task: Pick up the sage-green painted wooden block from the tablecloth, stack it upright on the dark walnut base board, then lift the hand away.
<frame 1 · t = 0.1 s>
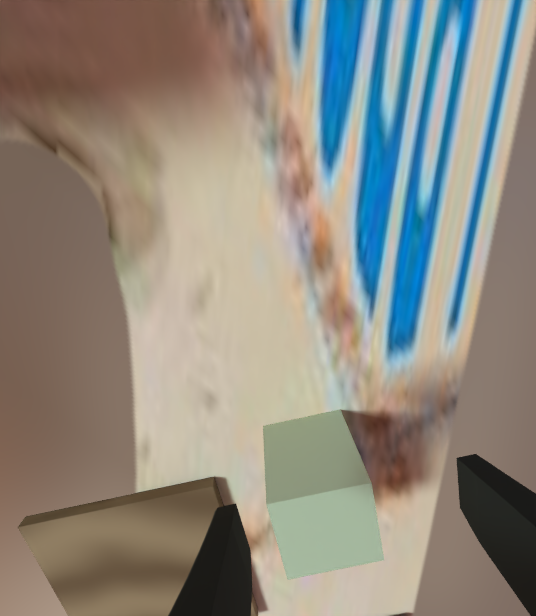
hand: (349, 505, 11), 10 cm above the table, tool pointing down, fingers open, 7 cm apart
sage block: (308, 449, 22), on the table
walnut base board: (149, 566, 25), on the table
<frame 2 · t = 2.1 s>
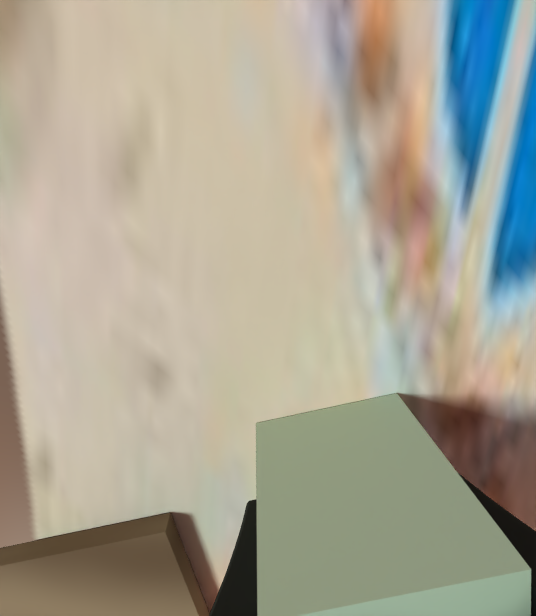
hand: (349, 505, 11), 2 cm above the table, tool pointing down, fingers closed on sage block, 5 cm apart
sage block: (337, 466, 13), on the table, touching gripper
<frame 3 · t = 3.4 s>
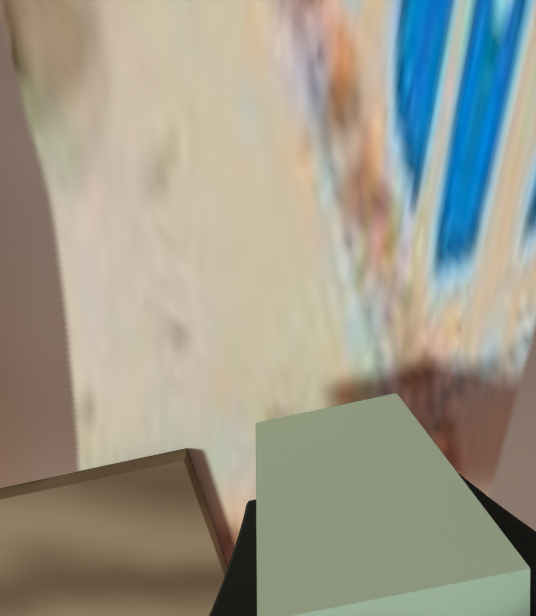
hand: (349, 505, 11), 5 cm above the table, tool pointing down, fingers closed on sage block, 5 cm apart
sage block: (337, 465, 13), point 3 cm above the table, touching gripper
walnut base board: (103, 573, 18), on the table
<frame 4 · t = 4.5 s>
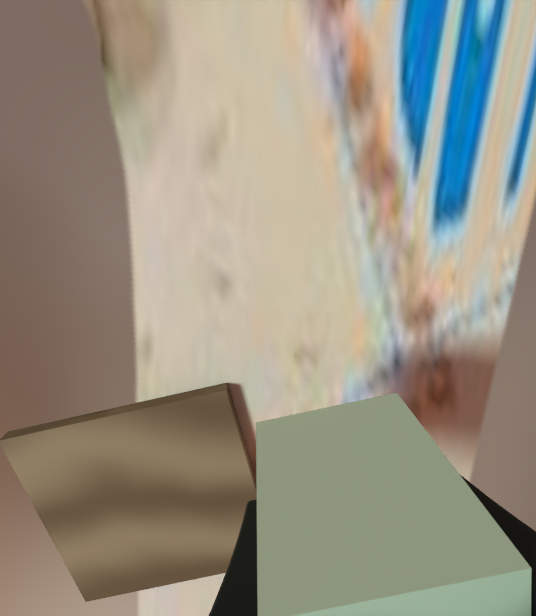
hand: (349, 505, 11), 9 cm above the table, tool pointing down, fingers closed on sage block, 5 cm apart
sage block: (337, 465, 13), point 7 cm above the table, touching gripper
walnut base board: (152, 495, 21), on the table
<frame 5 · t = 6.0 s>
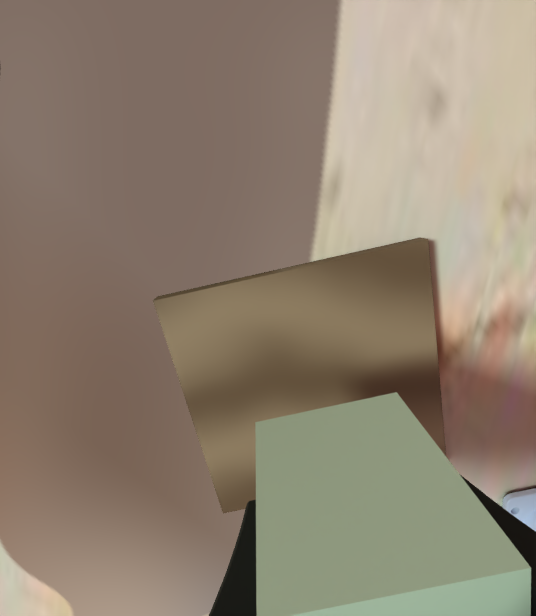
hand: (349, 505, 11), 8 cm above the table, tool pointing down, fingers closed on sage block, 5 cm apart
sage block: (336, 465, 13), point 6 cm above the table, touching gripper
walnut base board: (311, 384, 18), on the table
when the fingers open (4 cm above the table, at t = 7.4 s): sage block drops 1 cm, resting on walnut base board.
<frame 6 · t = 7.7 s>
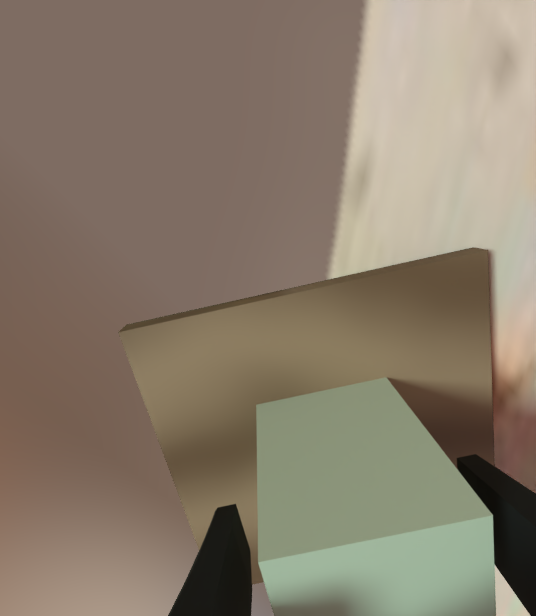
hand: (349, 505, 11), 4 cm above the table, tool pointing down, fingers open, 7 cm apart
sage block: (331, 445, 14), point 1 cm above the table, touching walnut base board
walnut base board: (326, 433, 14), on the table
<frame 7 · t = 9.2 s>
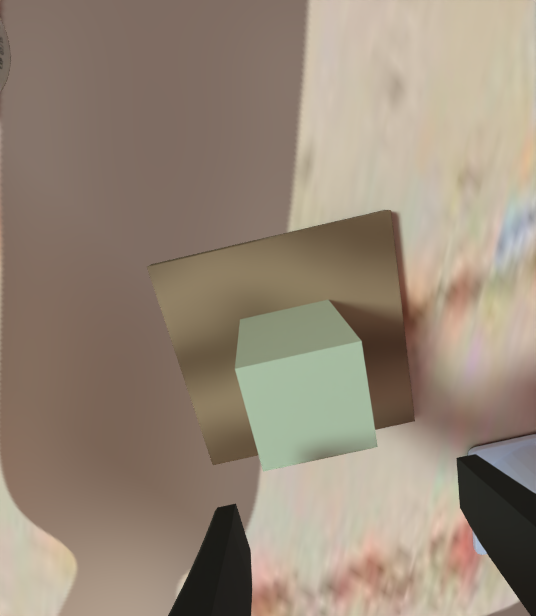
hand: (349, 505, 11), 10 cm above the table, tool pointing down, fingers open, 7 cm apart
sage block: (292, 350, 20), point 1 cm above the table, touching walnut base board
walnut base board: (291, 345, 20), on the table
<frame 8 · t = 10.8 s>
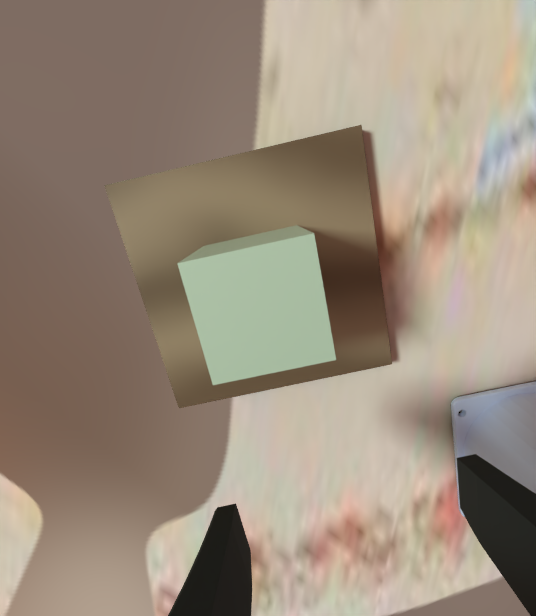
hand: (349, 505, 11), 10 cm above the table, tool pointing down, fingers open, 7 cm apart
sage block: (260, 281, 19), point 1 cm above the table, touching walnut base board
walnut base board: (260, 279, 19), on the table
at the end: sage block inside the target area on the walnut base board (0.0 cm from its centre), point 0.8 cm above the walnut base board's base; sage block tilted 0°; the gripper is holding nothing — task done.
